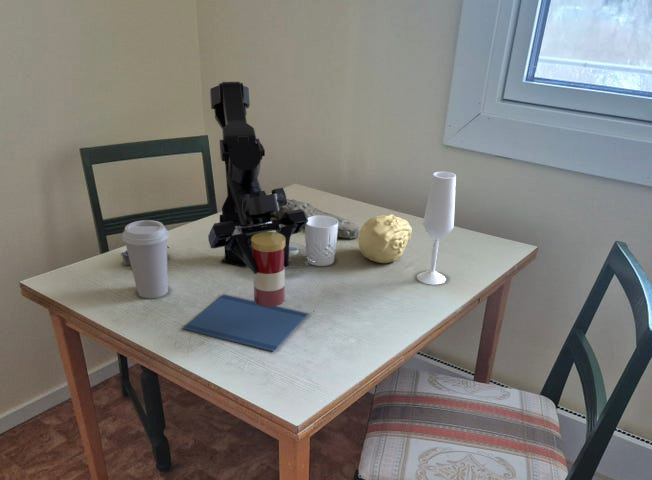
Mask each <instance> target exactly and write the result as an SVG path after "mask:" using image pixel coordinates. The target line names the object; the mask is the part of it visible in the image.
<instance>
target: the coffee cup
mask: <svg viewBox="0 0 652 480" xmlns="http://www.w3.org/2000/svg"><path fill="white" fill-rule="evenodd" d="M169 236H170V233H169V231H168V229H167V228H166V227H165V225H164V224H163V222H161V221H158V220H152V219H144V220H143V219H142V220H137V221H132V222H129V223H128V224H126V225H125V226H124V230H123V232H122V235H121V240H122V242H124V243H125V247H126V250H127V251H128V255H129V259H130V263H131V265H130V267H131V271H132V275H133V280H134V283H135V288H136V291H137V295H138V296H139V297H140V298H143V299H156V298H157V299H158V298H161V297H164V296H165V295H166V294H168V292H169V288H168V287H169V285H168V283H169V281H168V279H169V278H168V258H167V257H168V256H167V252H168V248H167V246H168V238H169Z"/></svg>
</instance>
